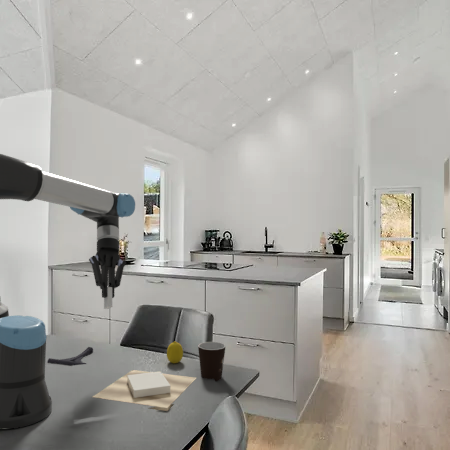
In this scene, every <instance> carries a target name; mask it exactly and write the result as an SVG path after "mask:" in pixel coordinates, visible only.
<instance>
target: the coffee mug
mask: <svg viewBox="0 0 450 450" xmlns="http://www.w3.org/2000/svg"><path fill="white" fill-rule="evenodd" d="M197 348H198V357H199V367H200V369H199V370H200V377H201V378H203V379H207V380H214V381H215V382H218V381H220V380H222V378H223V372H224V371H223V369H224V361H225V355H226V354H225V353H226V344H225V343H223V342H219V341H204V342H201V343H199V344H198V345H197Z"/></svg>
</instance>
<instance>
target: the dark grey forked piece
mask: <svg viewBox="0 0 450 450" xmlns="http://www.w3.org/2000/svg"><path fill="white" fill-rule="evenodd" d="M93 352H94V349H93V347H91V346H88V347H86V349H84V351H82V352H80V354H78V355H76V356H72V357H69V358H62V359H61V358H60V359H58V358H52V357H51V358H48V360H47V363H51V364H57V365H58V364H59V365H67V366H80V365H87V363H86V362H83V361H82V359H83V358H84V357H86V356H87V355H90V354H92V353H93Z"/></svg>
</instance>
